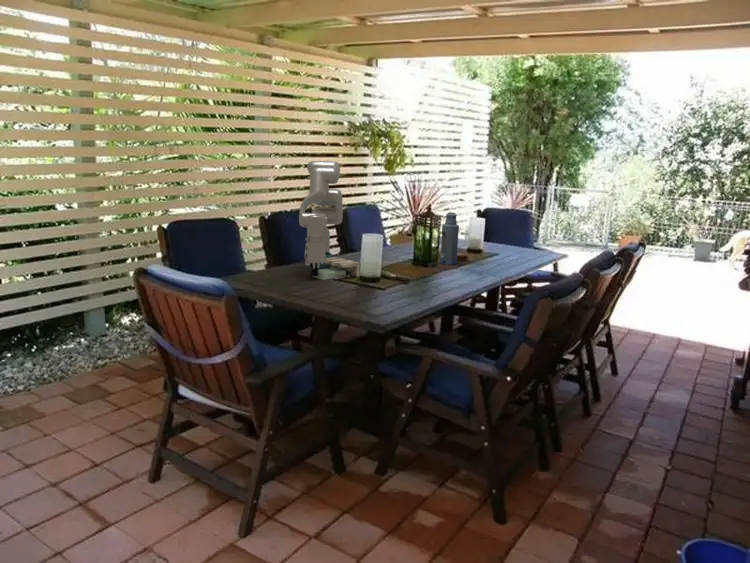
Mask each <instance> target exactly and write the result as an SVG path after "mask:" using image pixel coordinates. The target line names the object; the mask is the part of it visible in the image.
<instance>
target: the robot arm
mask: <svg viewBox="0 0 750 563" xmlns="http://www.w3.org/2000/svg"><path fill="white" fill-rule="evenodd" d="M306 165H307V171H308V174H309V177H310V178H309V191H308V192H309V194H308V195H307V196H306V197H304V199H303V200H302V202H301V203H300V207H299V213H298V214H299V215H298V223H299V225H300V226H301V227H302V228H305V229H306V233H307V234H306V237H305V238H304V239H305V242H306V243H305V247H304V262H305V265H304V266H309V268H310V269H311V270H310V271H311V273H310V274H311V277H312V276H318V268H319V266H320V265H321V264H323V263H324V261H325V259H326V256H325V252H329V253H331V251H330V250H331V249H330V248H331V246H330V245H331V244H330V243H331V240H330V238H331V233H330V232H331V231H330V229H329V228H328V227H327V225H340V224H342V223H343V216H344V215H343V208H344V207H343V193H342V191H341V190H340V189H336V188H329V186H330V185H335V184H337V183H338V182H339V179H340V174H341V166H340V163H339V162H337V161H333V160H332V161H331V160H330V161H329V160H328V161H327V160H326V161H325V160H312V161H309V162H308V163H307V164H306ZM329 184H330V185H329ZM313 204H314V205H316V206H318V207H314V208H313V209H312V211H311V212H306V210H307V208H308V207H309V206H310V205H313ZM319 206H320V207H319Z"/></svg>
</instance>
